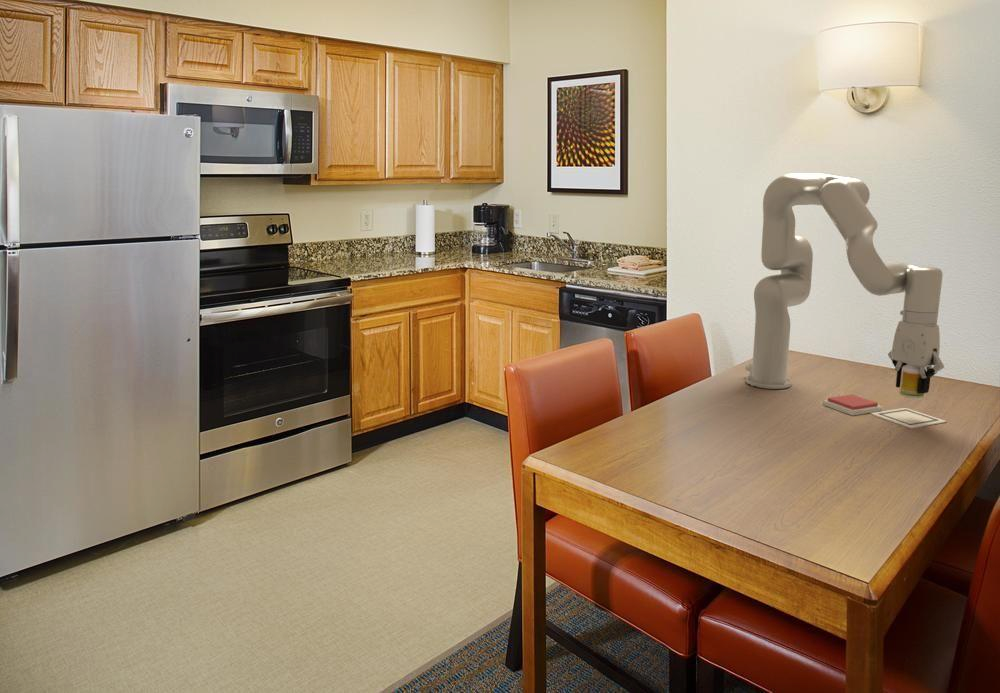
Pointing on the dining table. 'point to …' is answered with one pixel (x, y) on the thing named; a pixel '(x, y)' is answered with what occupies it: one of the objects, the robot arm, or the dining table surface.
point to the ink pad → (852, 405)
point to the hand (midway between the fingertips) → (911, 389)
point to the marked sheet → (908, 418)
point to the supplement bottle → (910, 382)
